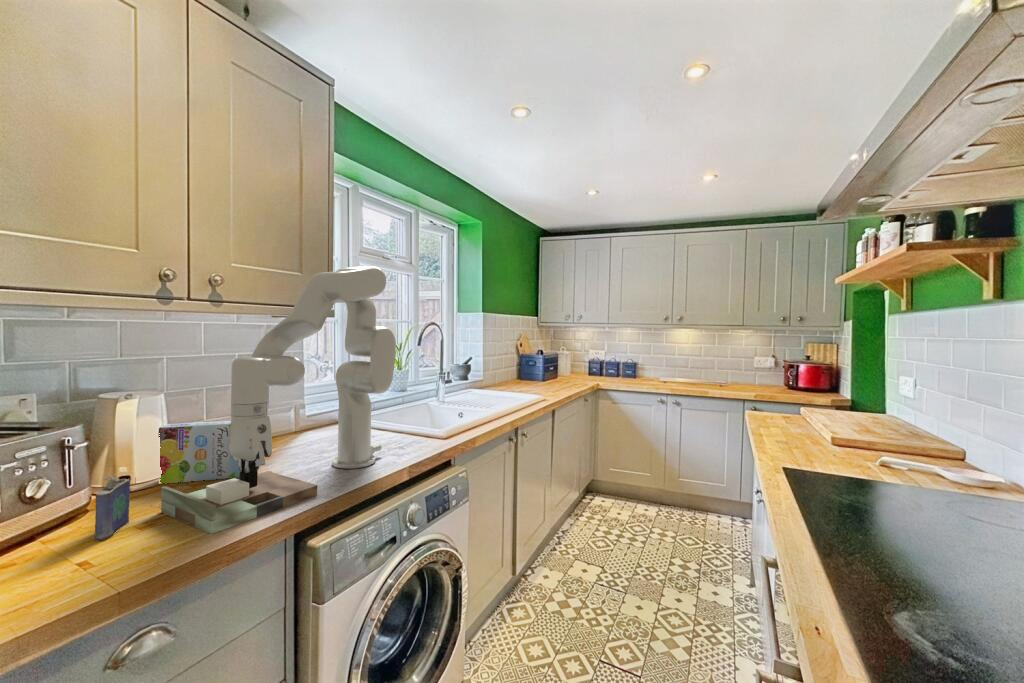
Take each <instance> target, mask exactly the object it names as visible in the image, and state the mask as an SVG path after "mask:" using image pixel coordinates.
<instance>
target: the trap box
mask: <svg viewBox="0 0 1024 683" xmlns="http://www.w3.org/2000/svg"><path fill="white" fill-rule="evenodd" d="M237 479H238V480H240V478H237ZM160 489H161V496H160V497H161V499H160V500H161V502H160V504H161V506H160V507H161V508H160V510H161V511H160V512H161V513H162V514H165V515H167V516H169V517H171V518H174V519H175V520H178V521H180V522H183V523H184V524H187V525H190V526H192V527H194V528H196V529H198V530H201V531H203V532H205V533H208V534H210V535H213V534H215V533H219V532H222V531H224V530H227V529H230V528H232V527H235V526H238V525H240V524H243V523H246V522H248V521H251V520H253V519H257V518H259V517H262V516H265V515H269V514H270V513H273V512H275V511H278V510H282V509H284V508H286V507H289V506H292V505H295V504H297V503H300V502H302V501H306V500H308V499H311V498H314V497H316V496H318V484H314V483H311V482H307V481H304V480H300V479H296V478H293V477H291V476H287V475H283V474H279V473H277V472H272V471H269V470H267V471H264V472H260V473H258V476H257V486H256V487H253V488H249V496H247V497H244V498H241V499H238V500H235V501H231V502H228V503H225V504H222V505H220V504H217V503H215V502H212V501H209V500H207V499H206V488H202V489H200V490H195V491H193V492H187V493H185V492H182V491H180V490H177V489H175V488H172V487H169V486H161V488H160Z"/></svg>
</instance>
